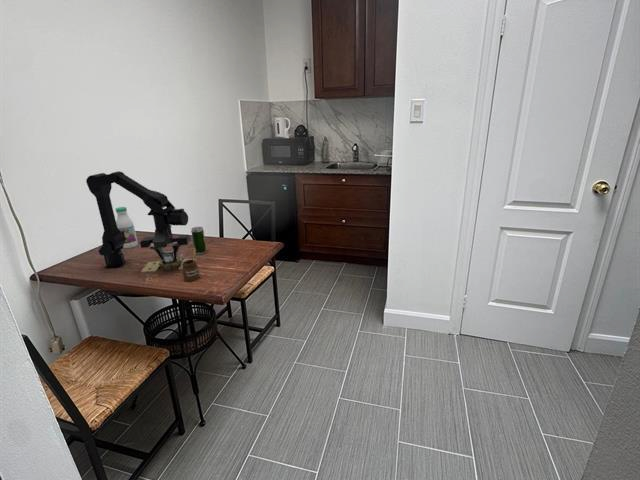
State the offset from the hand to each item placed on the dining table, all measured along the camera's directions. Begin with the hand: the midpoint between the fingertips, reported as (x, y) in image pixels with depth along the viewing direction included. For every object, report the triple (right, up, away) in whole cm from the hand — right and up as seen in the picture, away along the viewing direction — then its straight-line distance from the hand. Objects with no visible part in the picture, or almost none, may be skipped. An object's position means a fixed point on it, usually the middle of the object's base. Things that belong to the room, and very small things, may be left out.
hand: (169, 259), depth 147 cm
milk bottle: (-31, +5, +26) cm, 41 cm away
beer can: (+8, +2, +15) cm, 18 cm away
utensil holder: (+14, -7, -11) cm, 19 cm away
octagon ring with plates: (0, -3, +1) cm, 3 cm away
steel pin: (0, -3, +1) cm, 3 cm away
